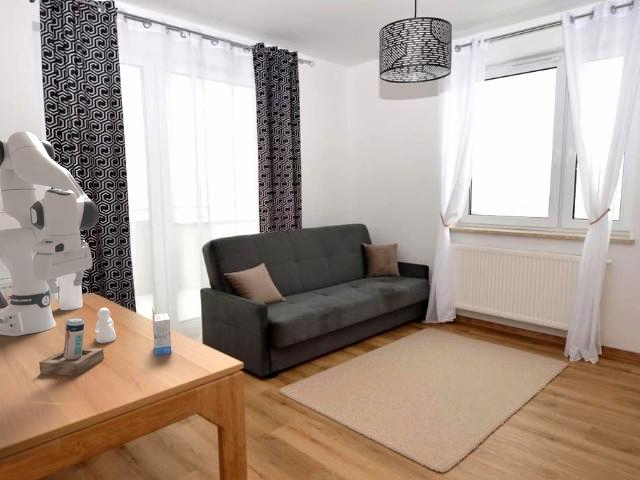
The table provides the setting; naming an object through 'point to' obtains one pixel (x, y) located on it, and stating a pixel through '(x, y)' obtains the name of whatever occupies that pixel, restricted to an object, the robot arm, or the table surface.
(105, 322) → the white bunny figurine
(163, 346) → the ink box
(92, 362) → the brown square tray
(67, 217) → the robot arm
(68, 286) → the alcohol
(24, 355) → the table surface
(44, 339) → the table surface
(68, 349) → the beer can
